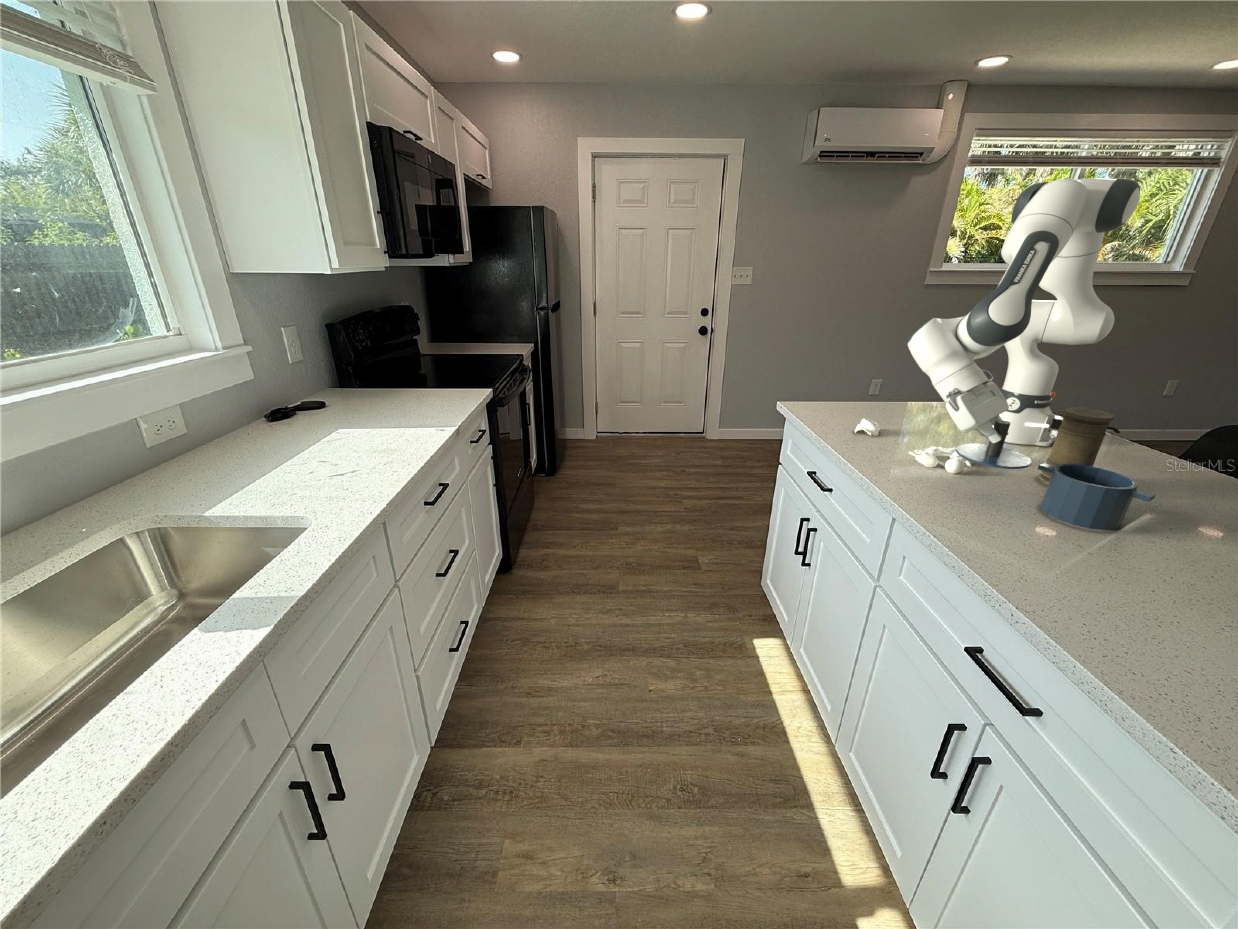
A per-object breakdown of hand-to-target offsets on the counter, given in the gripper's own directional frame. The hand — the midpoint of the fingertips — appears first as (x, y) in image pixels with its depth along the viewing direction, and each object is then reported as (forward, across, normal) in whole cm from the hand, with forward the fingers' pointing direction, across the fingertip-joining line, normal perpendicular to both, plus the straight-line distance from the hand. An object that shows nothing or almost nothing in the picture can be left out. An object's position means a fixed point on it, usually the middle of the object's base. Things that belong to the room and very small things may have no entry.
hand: (1001, 439), depth 105 cm
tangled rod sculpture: (0, +15, +20) cm, 25 cm away
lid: (+3, 0, +4) cm, 4 cm away
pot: (+21, +5, -1) cm, 22 cm away
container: (+17, +22, +4) cm, 28 cm away
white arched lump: (-16, +24, +37) cm, 47 cm away
